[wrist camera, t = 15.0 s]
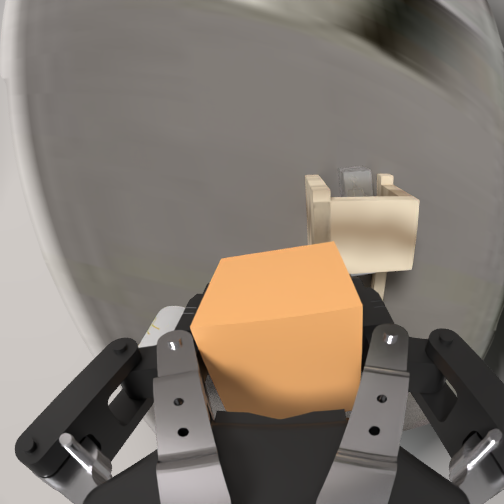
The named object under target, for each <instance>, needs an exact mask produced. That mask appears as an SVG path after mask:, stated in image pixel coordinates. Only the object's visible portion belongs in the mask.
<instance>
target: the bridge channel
mask: <svg viewBox="0 0 504 504" xmlns="http://www.w3.org/2000/svg"><path fill="white" fill-rule="evenodd" d="M305 185H306V206H307V232H308V245H313V244H319V243H326V242H332V241H334V242H335V244H336V246H337V248H338V251H339V253H340V255H341V257H342V259H343V262H344V264H345V266H346V268H347V270H348V273H349V274H358V273H372V279H371V288H372V289H374V290H375V291H376V292H378V293H379V295H380V297H381V299H382V301H383V296H384V289H385V282H386V274H387V272H388V271H402V270H412V265H413V258H414V251H415V243H416V234H417V224H418V213H419V200H418V199H416V198H415V197H413V196H411V195H410V194H408V193H406V192H405V191H403V190H401V189H400V188H398V187H396V186H394V185H393V176H392V175H390V174H377V196H372V197H331V198H330V189H329V188H328V187H327V185H326V184H325V183H324V181H323V180H322V179H321V178H320V176H319V175H305ZM373 272H375V273H373Z"/></svg>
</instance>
